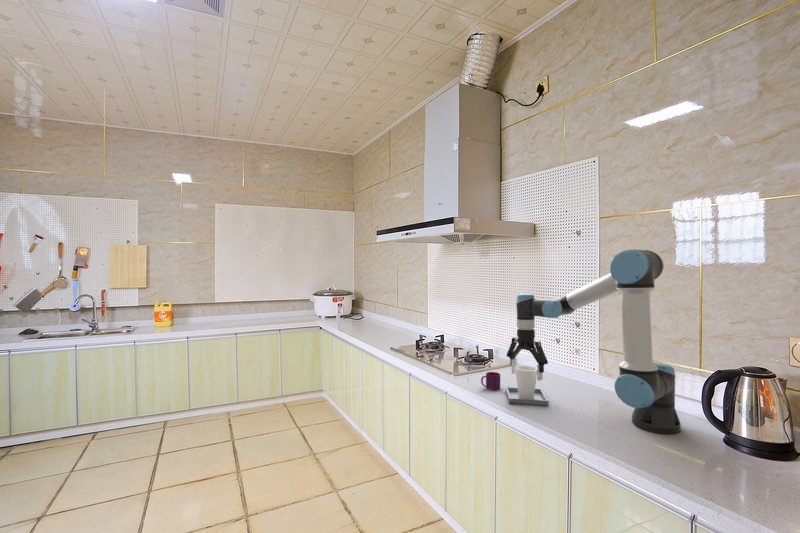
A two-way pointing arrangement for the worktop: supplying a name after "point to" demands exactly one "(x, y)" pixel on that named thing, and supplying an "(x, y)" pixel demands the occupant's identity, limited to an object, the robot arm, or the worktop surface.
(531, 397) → the foam cup
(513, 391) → the tray
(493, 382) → the cup
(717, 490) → the worktop surface
